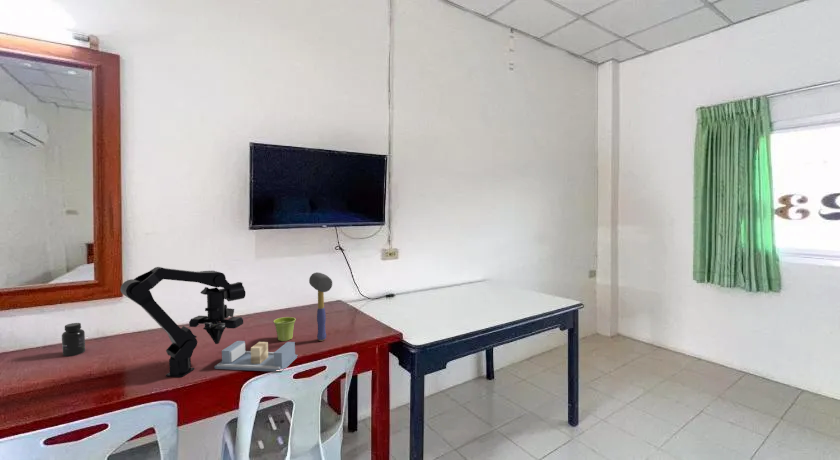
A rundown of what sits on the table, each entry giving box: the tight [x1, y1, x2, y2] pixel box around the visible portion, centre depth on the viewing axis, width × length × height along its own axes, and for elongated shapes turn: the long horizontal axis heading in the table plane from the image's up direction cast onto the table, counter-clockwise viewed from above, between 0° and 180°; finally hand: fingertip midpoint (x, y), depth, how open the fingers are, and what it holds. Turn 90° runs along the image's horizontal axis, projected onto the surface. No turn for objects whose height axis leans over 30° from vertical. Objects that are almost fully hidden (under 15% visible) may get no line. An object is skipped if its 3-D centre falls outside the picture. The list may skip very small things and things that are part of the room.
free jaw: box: [221, 340, 247, 364], centre depth 143 cm, size 10×4×5 cm, turn 174°
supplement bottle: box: [61, 322, 86, 357], centre depth 151 cm, size 7×7×12 cm
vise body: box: [214, 341, 298, 372], centre depth 142 cm, size 13×26×6 cm, turn 84°
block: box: [250, 341, 269, 364], centre depth 142 cm, size 6×4×6 cm, turn 174°
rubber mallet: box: [308, 272, 333, 342], centre depth 165 cm, size 12×8×30 cm, turn 33°
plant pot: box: [273, 316, 297, 342], centre depth 167 cm, size 9×9×9 cm
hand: (217, 343), depth 144 cm, fingers closed
